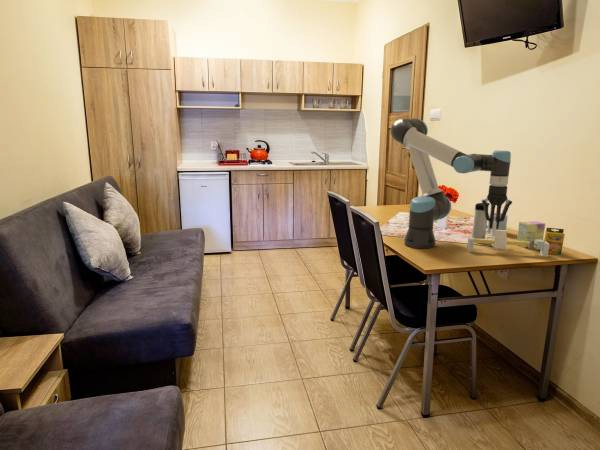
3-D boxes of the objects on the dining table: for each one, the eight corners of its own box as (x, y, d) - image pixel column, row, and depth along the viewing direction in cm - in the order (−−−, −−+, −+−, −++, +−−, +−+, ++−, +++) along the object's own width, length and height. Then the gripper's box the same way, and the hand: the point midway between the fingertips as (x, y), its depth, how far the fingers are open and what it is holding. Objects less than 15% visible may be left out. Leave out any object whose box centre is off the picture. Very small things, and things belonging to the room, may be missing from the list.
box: (533, 243, 208) (536, 220, 206) (542, 246, 203) (545, 223, 200) (515, 244, 206) (518, 221, 203) (524, 248, 201) (527, 224, 198)
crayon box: (543, 252, 194) (547, 228, 191) (542, 250, 196) (545, 227, 193) (561, 254, 191) (565, 230, 188) (560, 252, 194) (563, 228, 191)
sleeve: (494, 248, 192) (496, 231, 190) (491, 245, 196) (493, 228, 194) (505, 248, 191) (507, 232, 189) (503, 245, 195) (505, 229, 193)
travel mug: (486, 243, 209) (491, 204, 204) (472, 242, 210) (477, 203, 205) (483, 239, 215) (488, 202, 210) (470, 239, 216) (474, 201, 211)
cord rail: (468, 251, 195) (469, 237, 193) (467, 249, 199) (468, 235, 197) (547, 256, 188) (549, 241, 186) (544, 253, 192) (546, 239, 190)
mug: (505, 231, 232) (507, 213, 229) (505, 235, 224) (507, 217, 221) (479, 228, 238) (481, 211, 235) (477, 232, 230) (479, 214, 228)
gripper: (484, 185, 185) (479, 236, 191) (516, 186, 182) (510, 238, 188) (481, 183, 192) (476, 232, 198) (511, 184, 189) (505, 234, 195)
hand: (492, 235), depth 193 cm, fingers closed
